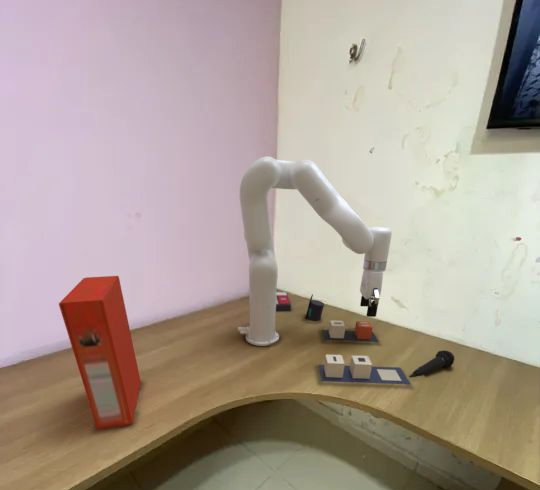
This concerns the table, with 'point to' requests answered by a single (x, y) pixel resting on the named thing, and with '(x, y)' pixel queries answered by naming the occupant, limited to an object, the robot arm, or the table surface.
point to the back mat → (348, 337)
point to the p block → (360, 367)
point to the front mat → (376, 376)
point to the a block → (336, 329)
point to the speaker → (314, 310)
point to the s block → (363, 330)
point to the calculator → (282, 302)
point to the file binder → (103, 349)
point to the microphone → (435, 363)
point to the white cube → (334, 366)
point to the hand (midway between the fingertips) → (367, 311)
